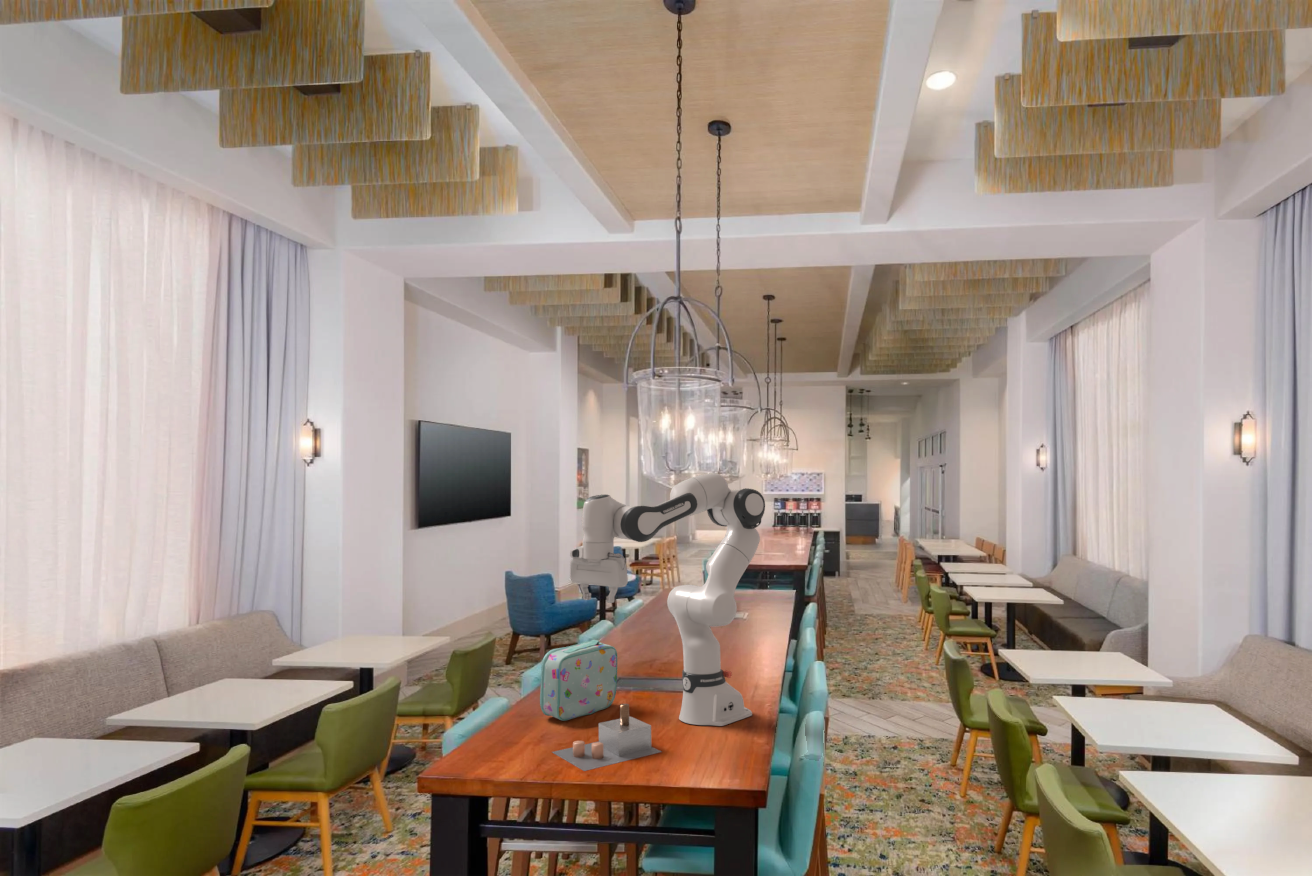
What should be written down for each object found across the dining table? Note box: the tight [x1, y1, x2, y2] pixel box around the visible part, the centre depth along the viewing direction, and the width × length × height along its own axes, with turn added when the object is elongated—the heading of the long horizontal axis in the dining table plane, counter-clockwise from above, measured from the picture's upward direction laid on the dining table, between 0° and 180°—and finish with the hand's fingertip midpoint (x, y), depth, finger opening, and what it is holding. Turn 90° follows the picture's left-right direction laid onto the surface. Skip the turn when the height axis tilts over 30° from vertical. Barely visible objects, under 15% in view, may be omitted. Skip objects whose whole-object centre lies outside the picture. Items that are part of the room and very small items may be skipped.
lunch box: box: [539, 639, 618, 721], centre depth 248 cm, size 27×10×21 cm, turn 141°
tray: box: [551, 740, 663, 772], centre depth 207 cm, size 23×17×4 cm
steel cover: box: [598, 703, 652, 757], centre depth 211 cm, size 10×10×11 cm
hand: (598, 601), depth 228 cm, fingers open, 8 cm apart
